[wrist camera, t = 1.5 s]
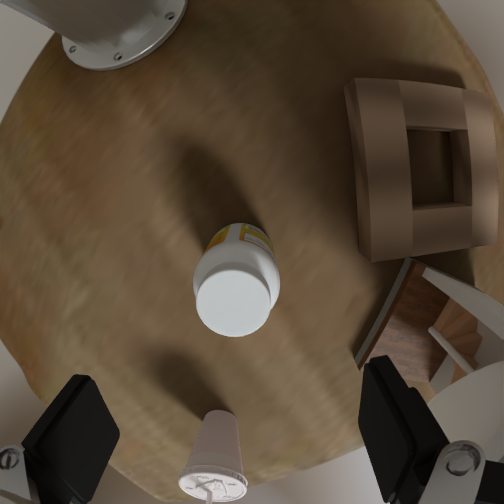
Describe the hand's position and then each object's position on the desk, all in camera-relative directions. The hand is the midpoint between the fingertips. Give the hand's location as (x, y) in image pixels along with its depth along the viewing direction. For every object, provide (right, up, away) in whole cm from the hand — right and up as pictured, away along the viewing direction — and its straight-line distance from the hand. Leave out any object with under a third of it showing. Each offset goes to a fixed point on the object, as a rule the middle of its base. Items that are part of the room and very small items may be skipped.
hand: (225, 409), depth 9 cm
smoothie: (-3, -14, +22) cm, 26 cm away
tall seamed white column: (+18, -2, +18) cm, 26 cm away
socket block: (+16, +13, +14) cm, 25 cm away
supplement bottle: (0, +5, +16) cm, 17 cm away
